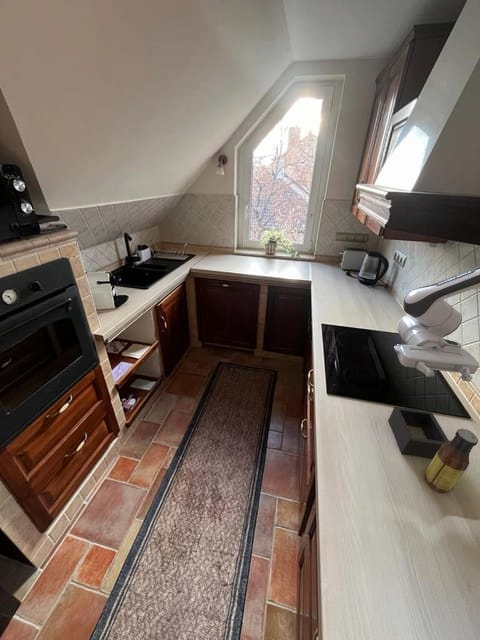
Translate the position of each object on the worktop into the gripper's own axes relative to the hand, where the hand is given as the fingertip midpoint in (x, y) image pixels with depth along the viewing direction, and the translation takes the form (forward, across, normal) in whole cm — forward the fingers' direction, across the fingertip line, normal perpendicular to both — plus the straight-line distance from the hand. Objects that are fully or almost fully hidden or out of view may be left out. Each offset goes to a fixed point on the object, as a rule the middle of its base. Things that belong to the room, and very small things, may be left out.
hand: (449, 377), depth 70 cm
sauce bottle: (+14, 0, +26) cm, 30 cm away
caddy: (+1, -1, +26) cm, 26 cm away
